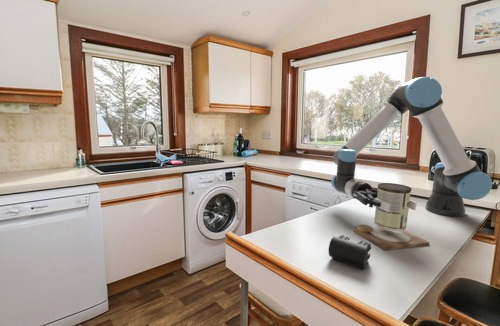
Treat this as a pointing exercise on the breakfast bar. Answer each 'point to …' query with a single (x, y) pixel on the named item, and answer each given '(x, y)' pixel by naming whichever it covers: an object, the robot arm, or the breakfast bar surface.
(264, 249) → the breakfast bar surface
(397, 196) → the coffee can
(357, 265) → the end cap
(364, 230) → the carrier board
